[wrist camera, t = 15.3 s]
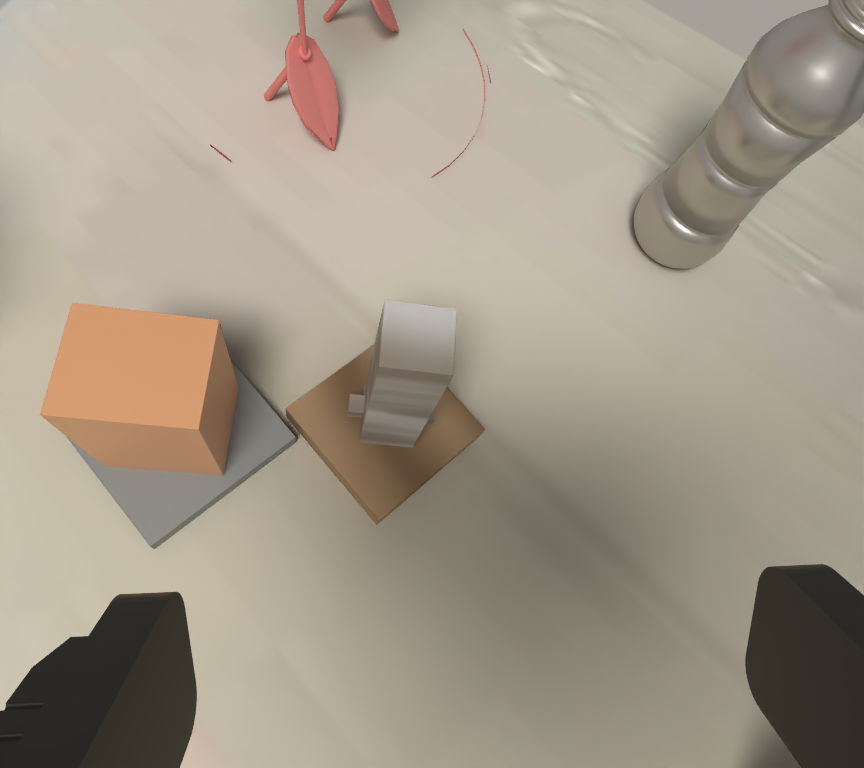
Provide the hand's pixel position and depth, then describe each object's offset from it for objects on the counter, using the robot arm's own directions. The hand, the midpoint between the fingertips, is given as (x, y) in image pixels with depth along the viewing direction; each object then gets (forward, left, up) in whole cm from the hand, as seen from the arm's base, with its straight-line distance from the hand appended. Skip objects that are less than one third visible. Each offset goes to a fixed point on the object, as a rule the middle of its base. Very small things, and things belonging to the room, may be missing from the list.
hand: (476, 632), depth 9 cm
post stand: (-8, -7, -27) cm, 29 cm away
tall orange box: (+1, -14, -26) cm, 29 cm away
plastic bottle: (-33, -5, -27) cm, 43 cm away
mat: (+1, -14, -27) cm, 30 cm away
